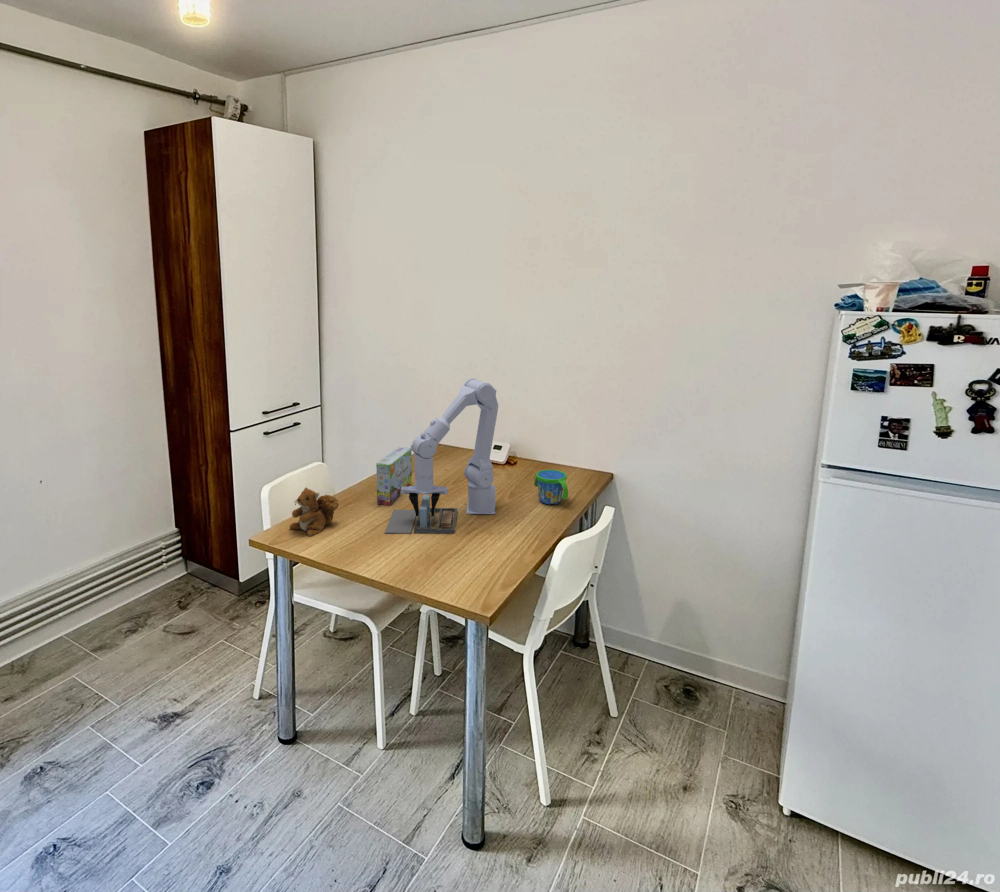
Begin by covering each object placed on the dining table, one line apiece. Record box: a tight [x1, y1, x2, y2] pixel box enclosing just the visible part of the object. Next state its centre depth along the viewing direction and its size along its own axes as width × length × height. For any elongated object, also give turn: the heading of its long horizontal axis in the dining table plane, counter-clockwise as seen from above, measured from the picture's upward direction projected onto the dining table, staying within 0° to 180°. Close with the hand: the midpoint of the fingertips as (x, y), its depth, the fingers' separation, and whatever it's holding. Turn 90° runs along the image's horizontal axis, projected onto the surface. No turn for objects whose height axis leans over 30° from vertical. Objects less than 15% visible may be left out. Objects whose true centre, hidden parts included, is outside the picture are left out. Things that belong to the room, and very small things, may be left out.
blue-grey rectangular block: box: [419, 494, 431, 529], centre depth 189 cm, size 2×12×7 cm, turn 1°
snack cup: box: [533, 469, 569, 505], centre depth 207 cm, size 16×10×10 cm
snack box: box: [376, 446, 413, 506], centre depth 211 cm, size 21×6×15 cm, turn 168°
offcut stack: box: [440, 511, 454, 529], centre depth 190 cm, size 3×12×2 cm, turn 1°
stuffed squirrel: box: [289, 487, 340, 537], centre depth 183 cm, size 10×14×13 cm
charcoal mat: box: [384, 509, 417, 535], centre depth 190 cm, size 8×18×1 cm, turn 1°
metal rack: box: [413, 507, 458, 535], centre depth 190 cm, size 12×17×1 cm
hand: (425, 514), depth 189 cm, fingers open, 4 cm apart
